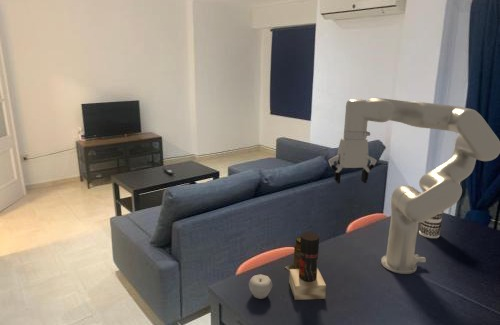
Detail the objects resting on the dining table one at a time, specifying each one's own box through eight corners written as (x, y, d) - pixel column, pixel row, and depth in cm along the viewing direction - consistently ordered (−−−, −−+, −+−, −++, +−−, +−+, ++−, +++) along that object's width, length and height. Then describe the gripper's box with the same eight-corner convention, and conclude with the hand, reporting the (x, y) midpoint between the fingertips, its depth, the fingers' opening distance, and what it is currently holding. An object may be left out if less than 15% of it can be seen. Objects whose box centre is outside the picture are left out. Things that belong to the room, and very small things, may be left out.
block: (317, 280, 126) (317, 268, 124) (324, 298, 116) (326, 285, 115) (289, 281, 125) (289, 269, 123) (294, 299, 115) (295, 286, 114)
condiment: (314, 270, 132) (316, 241, 129) (297, 277, 128) (298, 247, 125) (301, 261, 138) (302, 233, 135) (284, 267, 134) (285, 238, 130)
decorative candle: (415, 228, 167) (422, 178, 160) (436, 230, 166) (444, 179, 159) (421, 237, 158) (429, 184, 152) (443, 239, 157) (452, 185, 151)
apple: (248, 287, 121) (248, 270, 119) (271, 288, 121) (272, 271, 119) (247, 302, 113) (248, 285, 112) (272, 303, 113) (273, 285, 111)
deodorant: (317, 282, 116) (320, 240, 112) (299, 281, 116) (302, 240, 112) (315, 272, 122) (317, 232, 118) (297, 271, 122) (299, 231, 118)
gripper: (374, 133, 127) (369, 178, 132) (327, 133, 126) (324, 179, 130) (383, 137, 120) (378, 185, 125) (333, 137, 119) (330, 186, 123)
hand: (350, 182), depth 127 cm, fingers open, 9 cm apart
